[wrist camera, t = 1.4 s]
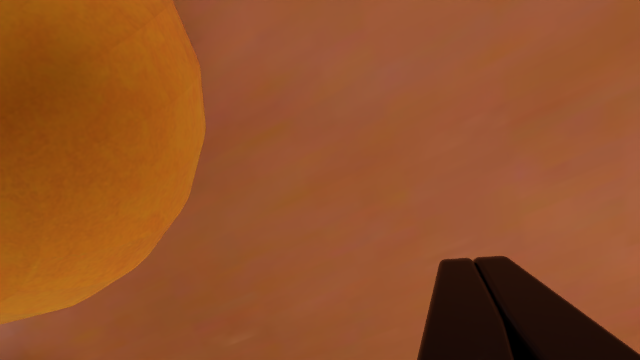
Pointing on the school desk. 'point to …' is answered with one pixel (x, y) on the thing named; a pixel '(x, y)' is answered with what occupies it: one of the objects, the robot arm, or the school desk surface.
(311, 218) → the school desk surface
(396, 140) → the school desk surface
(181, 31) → the fruit
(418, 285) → the school desk surface
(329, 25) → the school desk surface
